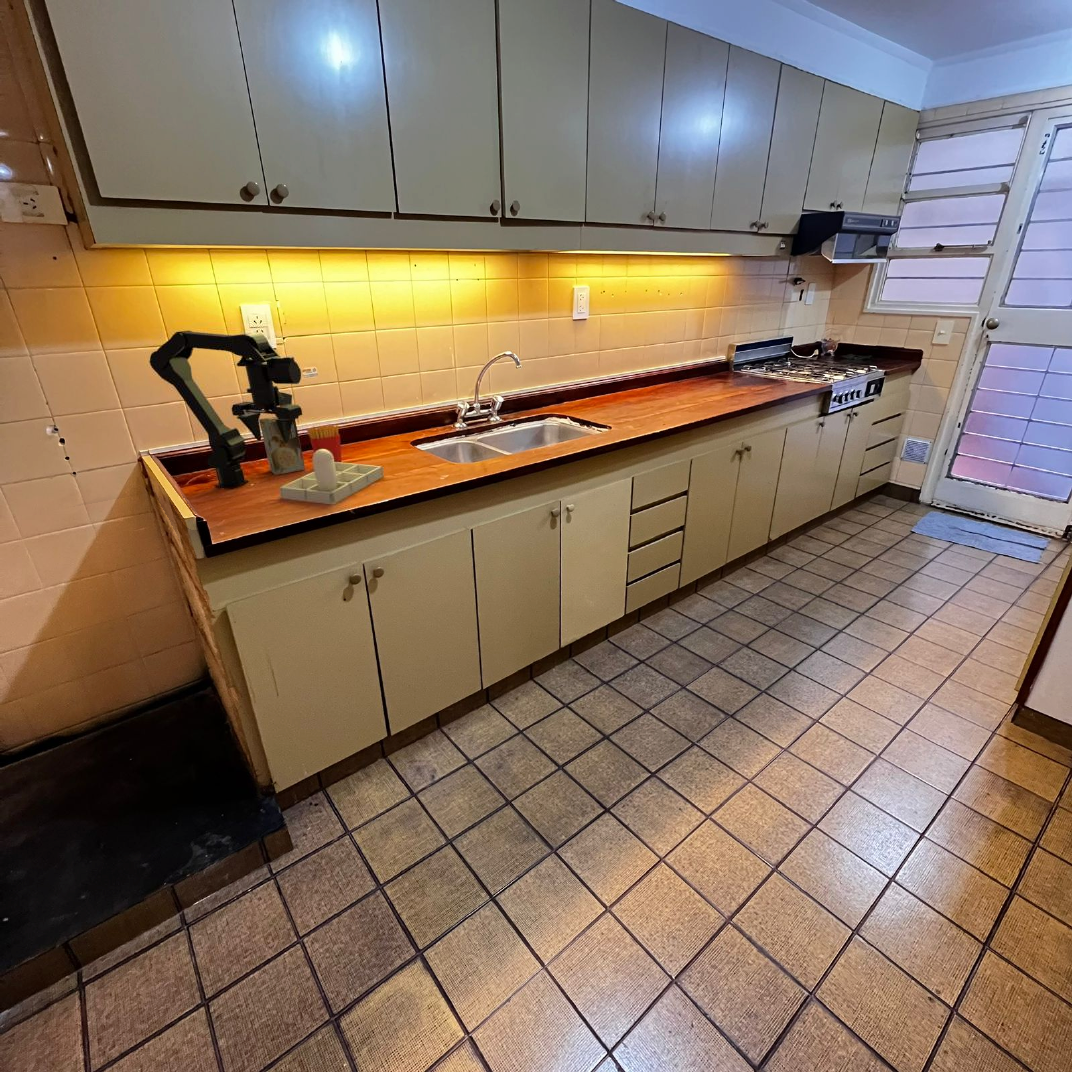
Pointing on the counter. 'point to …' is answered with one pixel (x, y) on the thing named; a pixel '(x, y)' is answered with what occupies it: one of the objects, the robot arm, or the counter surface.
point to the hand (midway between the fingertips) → (273, 441)
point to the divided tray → (347, 478)
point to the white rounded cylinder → (325, 470)
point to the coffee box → (281, 447)
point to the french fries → (326, 440)
